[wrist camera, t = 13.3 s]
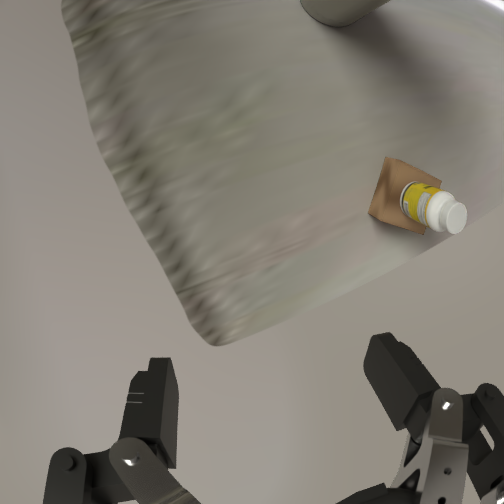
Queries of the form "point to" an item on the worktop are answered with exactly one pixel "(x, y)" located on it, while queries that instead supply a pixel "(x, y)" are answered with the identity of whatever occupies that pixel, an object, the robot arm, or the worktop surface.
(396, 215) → the walnut block
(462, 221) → the supplement bottle
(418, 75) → the worktop surface
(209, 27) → the worktop surface
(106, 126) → the worktop surface
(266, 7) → the worktop surface
